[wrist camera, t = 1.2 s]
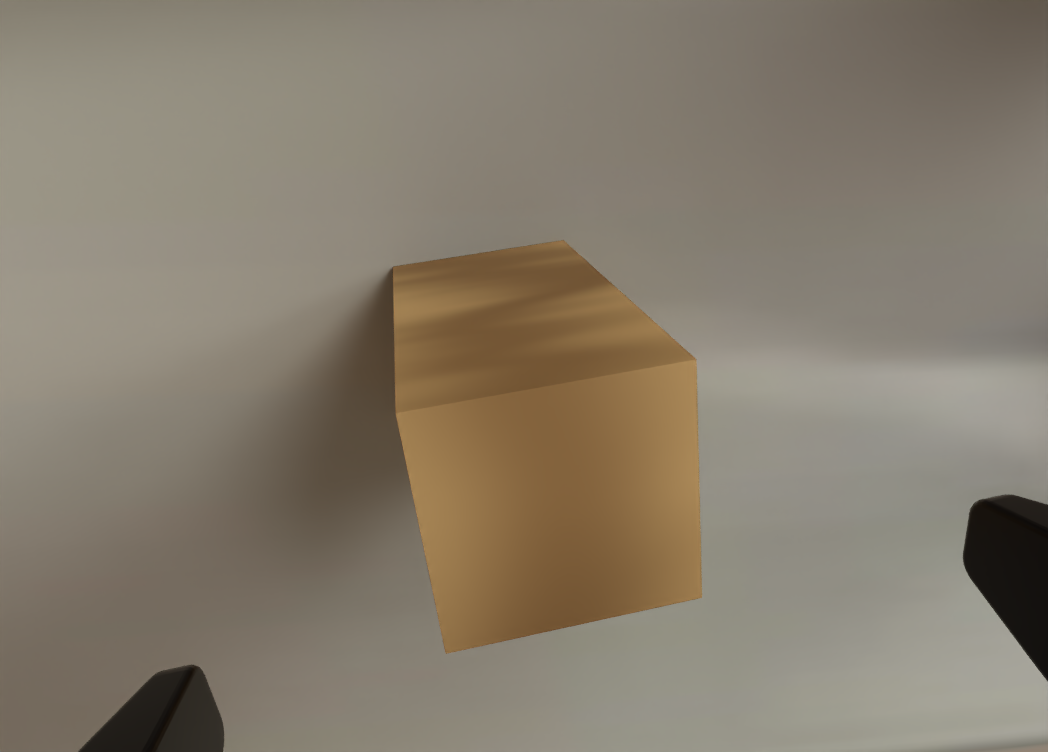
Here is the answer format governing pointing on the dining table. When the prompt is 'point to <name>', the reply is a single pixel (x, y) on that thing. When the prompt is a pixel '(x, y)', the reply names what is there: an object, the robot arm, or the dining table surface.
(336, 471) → the dining table surface
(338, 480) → the dining table surface
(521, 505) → the wooden block
